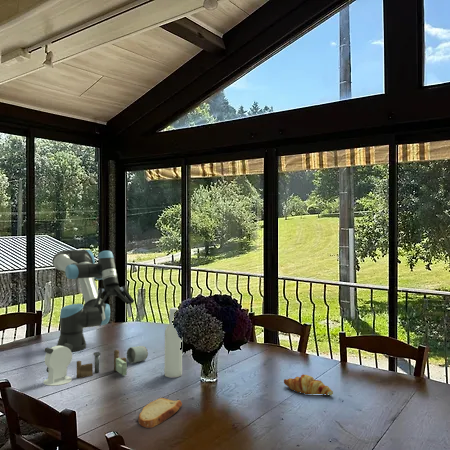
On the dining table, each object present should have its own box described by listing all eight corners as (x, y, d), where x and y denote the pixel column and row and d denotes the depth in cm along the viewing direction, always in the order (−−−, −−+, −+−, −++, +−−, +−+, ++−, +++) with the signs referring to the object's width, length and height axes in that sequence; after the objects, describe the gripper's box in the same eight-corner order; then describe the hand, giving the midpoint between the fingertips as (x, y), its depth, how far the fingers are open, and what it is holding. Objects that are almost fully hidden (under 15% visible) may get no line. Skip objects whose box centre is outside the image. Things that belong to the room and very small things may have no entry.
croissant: (335, 403, 178) (338, 383, 181) (328, 399, 170) (331, 378, 173) (285, 391, 189) (289, 372, 192) (277, 387, 181) (281, 367, 184)
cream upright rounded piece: (62, 374, 199) (62, 341, 199) (78, 379, 193) (78, 345, 193) (38, 382, 190) (38, 346, 190) (53, 387, 183) (54, 351, 183)
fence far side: (75, 377, 196) (76, 361, 196) (91, 374, 200) (91, 358, 200) (77, 378, 194) (77, 362, 194) (92, 375, 198) (92, 359, 198)
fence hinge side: (112, 370, 206) (113, 349, 206) (124, 367, 209) (124, 347, 209) (114, 371, 204) (114, 350, 204) (126, 369, 207) (126, 348, 207)
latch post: (93, 372, 202) (93, 352, 202) (98, 371, 204) (98, 351, 204) (95, 373, 200) (95, 353, 200) (100, 372, 202) (100, 353, 202)
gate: (115, 370, 203) (115, 358, 203) (119, 369, 205) (119, 357, 204) (122, 375, 197) (122, 363, 197) (126, 374, 198) (126, 362, 198)
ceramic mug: (148, 361, 219) (148, 345, 219) (135, 365, 213) (135, 349, 213) (136, 357, 226) (136, 342, 227) (122, 360, 220) (122, 345, 221)
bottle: (166, 371, 204) (166, 306, 204) (183, 372, 204) (183, 306, 204) (163, 377, 196) (163, 309, 196) (180, 378, 196) (181, 310, 196)
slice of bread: (142, 430, 147) (142, 419, 147) (130, 409, 163) (130, 399, 163) (193, 420, 154) (193, 410, 154) (177, 401, 170) (177, 392, 170)
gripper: (88, 277, 221) (94, 318, 212) (135, 274, 235) (143, 312, 226) (84, 283, 226) (90, 323, 217) (130, 280, 240) (137, 317, 232)
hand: (117, 318), depth 222 cm, fingers open, 13 cm apart
